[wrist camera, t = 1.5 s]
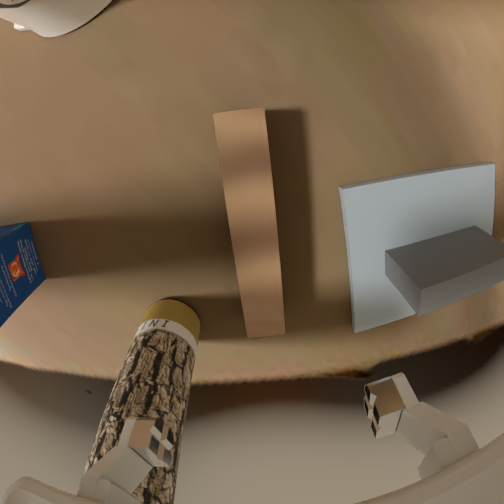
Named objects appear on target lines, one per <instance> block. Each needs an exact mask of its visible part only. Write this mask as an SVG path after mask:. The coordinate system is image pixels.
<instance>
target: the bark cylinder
mask: <svg viewBox="0 0 504 504" xmlns="http://www.w3.org/2000/svg"><path fill="white" fill-rule="evenodd" d="M199 333H200V321H199V318H198V316H197V315H196V313H195V312H194V311H193V310H192V309H191V308H190V307H189V306H187V305H186V304H184V303H182V302H180V301H176V300H170V299H167V300H160V301H157V302H155V303H153V304H152V305H151V306H150V307H149V308H148V309H147V311H146V313H145V316H144V318H143V320H142V322H141V324H140V327H139V328H138V331H137V333H136V335H135V337H134V340H133V342H132V344H131V346H130V349H129V351H128V353H127V356H126V358H125V361H124V363H123V365H122V368H121V370H120V373H119V375H118V378H117V380H116V383H115V385H114V388H113V390H112V393H111V396H110V398H109V401H108V403H107V406H106V409H105V411H104V414H103V417H102V419H101V422H100V425H99V428H98V431H97V433H96V436H95V439H94V442H93V445H92V448H91V451H90V454H89V457H88V461H87V464H86V467H85V470H84V473H85V472H86V471H88V470H89V469H90V468H91V467H92V466H93V465H94V464H96V463H97V462H98V461H99V460H100V459H101V458H102V457H103V456H104V455H106V454H107V453H108V452H109V451H110V450H111V449H112V448H113V447H114V446H118V443H119V440H120V437H121V434H122V430H123V427H124V424H125V421H126V419H127V418H128V417H161V418H162V420H163V421H164V425H166V426H168V427H169V428H170V429H171V430H172V432H173V435H174V445H173V447H172V448H171V449H170V450H169V451H170V452H171V454H172V457H171V462H170V467H156V466H152V467H153V468H152V469H151V470H150V471H149V473H148V474H147V475H146V477H145V478H144V479H143V480H142V481H141V483H140V484H139V485H138V486H137V488H136V489H135V490H134V491H133V493H132V494H131V495H132V496H134V497H135V498H137V499H139V501H140V504H174V495H175V487H176V479H177V471H178V464H179V456H180V450H181V443H182V436H183V428H184V422H185V415H186V409H187V403H188V397H189V391H190V385H191V379H192V373H193V368H194V362H195V356H196V351H197V344H198V339H199ZM83 475H84V474H83ZM82 478H83V477H82ZM81 481H82V480H81ZM79 488H80V487H79Z"/></svg>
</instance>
